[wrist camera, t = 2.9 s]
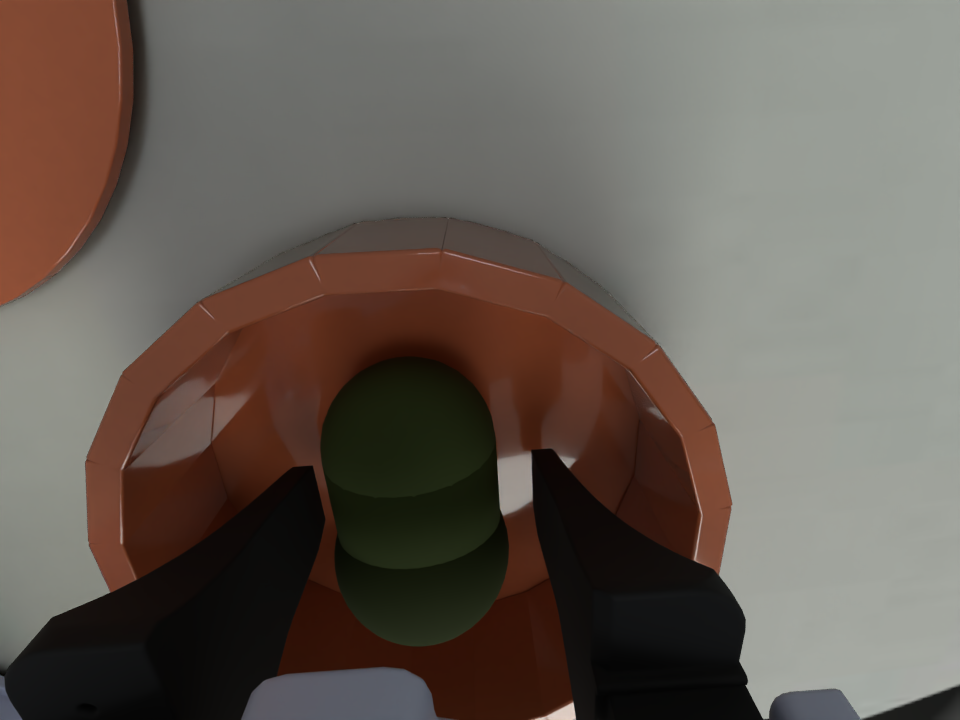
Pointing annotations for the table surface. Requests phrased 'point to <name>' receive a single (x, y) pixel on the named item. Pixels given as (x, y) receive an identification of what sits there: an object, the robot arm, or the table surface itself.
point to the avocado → (414, 500)
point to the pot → (397, 333)
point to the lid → (59, 130)
